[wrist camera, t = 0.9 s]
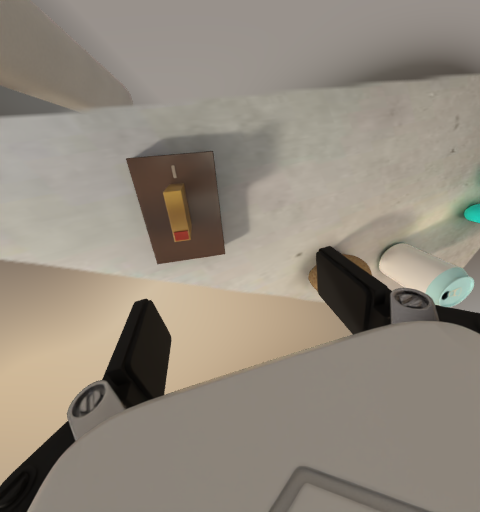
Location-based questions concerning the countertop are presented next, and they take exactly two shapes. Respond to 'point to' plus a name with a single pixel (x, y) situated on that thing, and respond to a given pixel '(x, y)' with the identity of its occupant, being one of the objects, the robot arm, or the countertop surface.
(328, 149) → the countertop surface
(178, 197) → the thumbturn
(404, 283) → the can
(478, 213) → the donuts
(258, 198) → the countertop surface
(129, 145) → the countertop surface
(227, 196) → the countertop surface
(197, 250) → the plate
